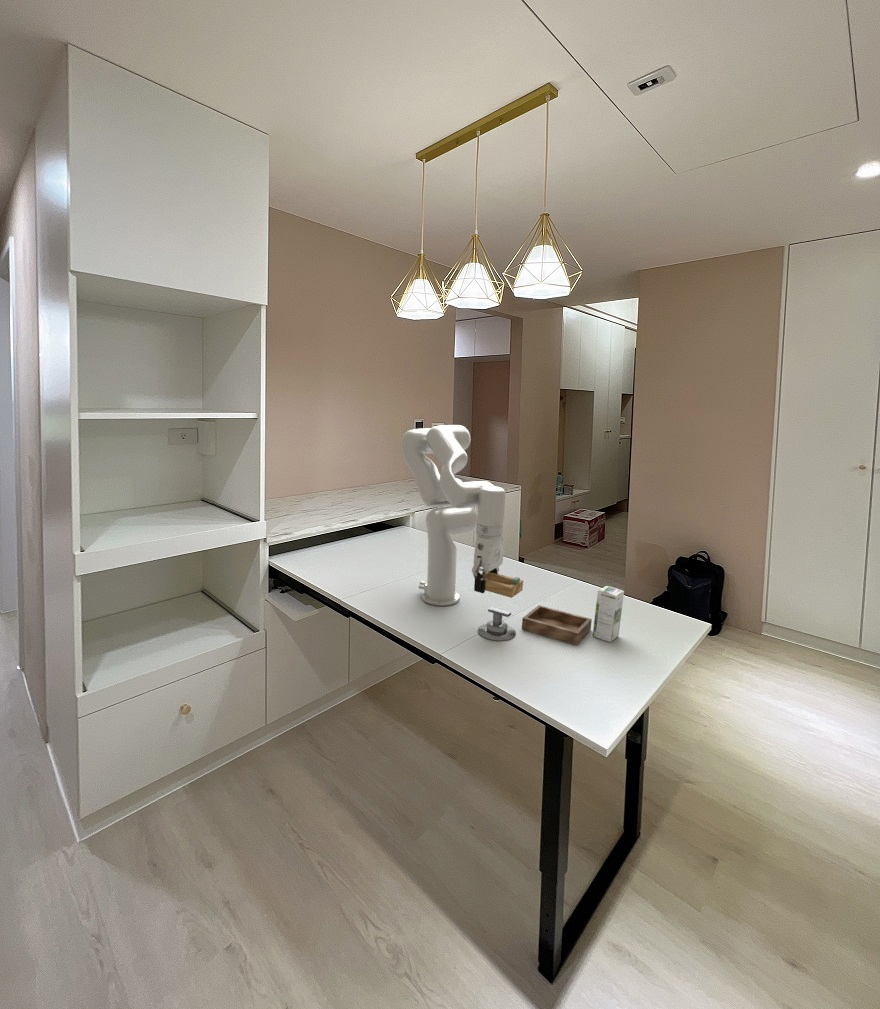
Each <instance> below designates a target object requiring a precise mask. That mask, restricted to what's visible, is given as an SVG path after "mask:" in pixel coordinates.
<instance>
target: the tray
mask: <svg viewBox="0 0 880 1009" xmlns="http://www.w3.org/2000/svg"><path fill="white" fill-rule="evenodd" d="M592 621H593V620H592V618H589V617H585V616H581V615H578V614H574V613H570V612H567V611H563V610H559V609H555V608H551V607H547V606H543V605H539V604H538V605H537V606H536V607H534V608H533V609H532V610H531V611H530V612H528V613H527V614H526V615H524V616H523V617H522V619H521V630H524V631H527V632H530V633H534V634H537V635H541V636H544V637H547V638H551V639H554V640H557V641H561V642H564V643H567V644H572V645H575V646H578V645H579V644H580V643H581V641H583V639H584V638H585V637H586V636H587V635H588V634H589V633H590V631H591V630H592Z"/></svg>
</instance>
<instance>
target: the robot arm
mask: <svg viewBox="0 0 880 1009" xmlns="http://www.w3.org/2000/svg"><path fill="white" fill-rule="evenodd" d="M470 434H471V433H470V432H469V429H467V428H466V427H465V426H463V425H460V424H448V425H447V424H444V425H443V424H442V425H435V426H432V427H431V428H415V429H410V430H406V432H405V433H404V434H403V435H402V437H401V443H400V446H401V449H400V450H401V452H402V453H401V454H402V456H403V459H404V462H405V464H406V466H407V467H408V468H409V471H410V472H411V474H412V476H413V478H414V482H415V485H416V487H417V491H418V493H419V496H420V498H421V501H422V503H423V504H424V505H425V507H427V508H433V509H431V510H429V512H427V513H426V515H425V516H426V517H425V528H426V533H427V574H426V576H427V577H426V578H427V580H426V581H424V580H421V581H419V583H418V584H419V585H418V586H417V587H418V589H420V590H423V593H422V595H421V596H422V598H421V600H422V601H424V602H425V603H427V604H429V605H432V606H438V607H439V606H441V607H443V606H445V607H447V606H451V605H455V604H457V603H458V602H459V601H460V599H461V597H460V594H459V593H458V592H456V579H457V578H456V577H457V557H458V556H457V555H458V554H457V551H458V550H457V547H456V543H454V540H453V539H452V536H457V535H463V534H469V533H472V532H474V531H475V530H476V531H475V532H476V533H475V534H476V540H475V545H474V555H473V566H472V568H471V573H472V575H473V578H474V585H473V586H474V588H473V591H474V592H476V593H481V594H484V593H485V592H486V590H485V580H484V578H485V574H486V572H492V573H496V574H499V571H500V566H501V565H503V561H504V535H503V534H504V522H505V521H504V520H505V518H504V517H505V504H506V491H505V489H504V488H502V487H500V486H495V485H494V484H492V483H491V482H489V481H486V480H479V481H473V480H472V481H464V482H463V480H461V479H460V478H456V477H455V474H457V473H459V472H461V471H462V470H463V469H464V468H465V466H466V465H467V464H468V461H469V458H468V454H467V453H466V451H465V450H468V448H469V447H470V444H471V435H470ZM426 454H433V455H434V456H435V457H436V459H437V460H438V463H439V464H440V466H441V467H442V468H441V471H440V472H439V470H438V467H437V466H436V464H435V463H434V462H433V461H432V459H430V458H429V457H428V456H426ZM475 508H477V511H476V509H475ZM481 572H482V573H481ZM481 574H482V575H481Z"/></svg>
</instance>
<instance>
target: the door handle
mask: <svg viewBox="0 0 880 1009" xmlns="http://www.w3.org/2000/svg"><path fill="white" fill-rule="evenodd" d="M487 612H488V613H492V620H489V621H487V622H486V623H484V624H482V625H480V626H479V627H478V628H477V633H478V635H479V636H480V637H482V638H484V639H485V640H489V641H493V642H506V641H510V640H513V639H514V638H515V637H516V634H517V633H516V629H515V628H514V627H512V626H510V625H508V623H507V622H506V621H503V617H505V618H506V617H507V618H509V617H511V615H512V612H511V611H507V610H504V609H500V608H497V607H493V606H491V607H488V608H487Z"/></svg>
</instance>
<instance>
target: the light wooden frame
mask: <svg viewBox="0 0 880 1009" xmlns="http://www.w3.org/2000/svg"><path fill="white" fill-rule="evenodd" d="M480 574H481V575H482V573H480ZM484 580H485V592H486V591H487V592H489V593H494V594H497V595H500V596H503V597H508V598H511V599H512V598H513V597H515V596H516V595H518V594H520V592H522V591H523V587H524V580H523V579H521V578H520V577H517V576H515V577H513V576H512V577H511V576H507V575H503V574H499V573H498V574H496V573H492V572H486V574H485V578H484Z"/></svg>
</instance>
